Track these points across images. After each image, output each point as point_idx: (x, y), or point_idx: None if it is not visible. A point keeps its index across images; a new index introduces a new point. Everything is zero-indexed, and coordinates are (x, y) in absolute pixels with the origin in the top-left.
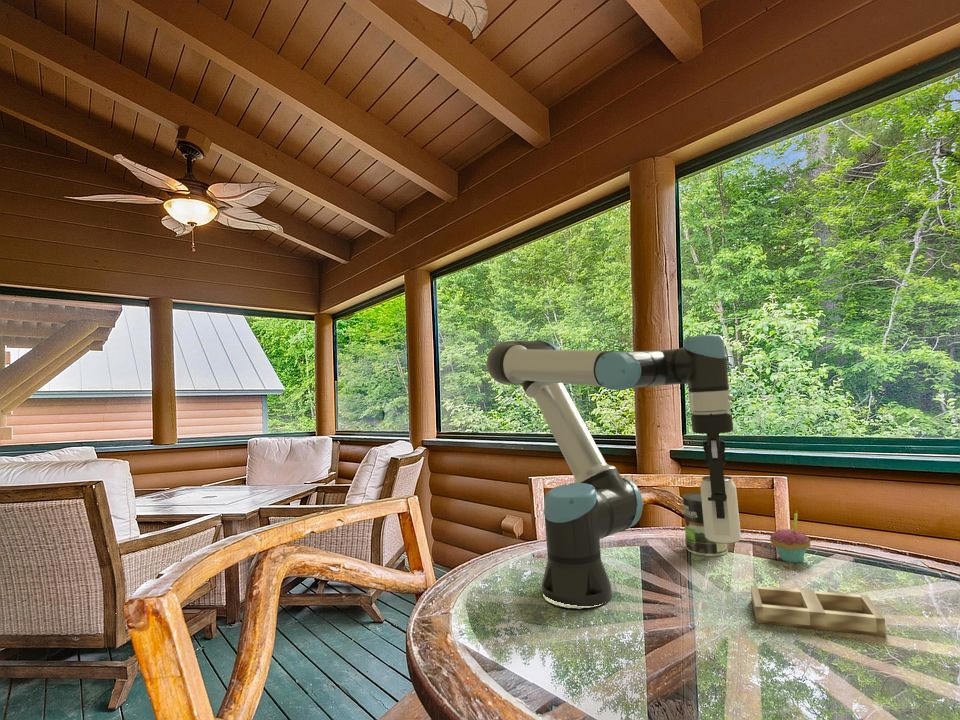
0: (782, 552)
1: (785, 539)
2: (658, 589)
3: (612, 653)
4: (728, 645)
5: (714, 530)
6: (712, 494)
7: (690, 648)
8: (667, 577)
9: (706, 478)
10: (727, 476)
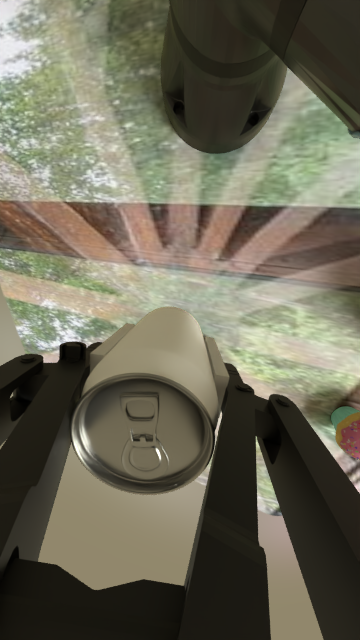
0: (345, 413)
1: (353, 432)
2: (245, 231)
3: (56, 160)
4: (104, 293)
5: (123, 326)
6: (7, 365)
7: (89, 254)
8: (290, 248)
9: (186, 396)
10: (181, 485)
